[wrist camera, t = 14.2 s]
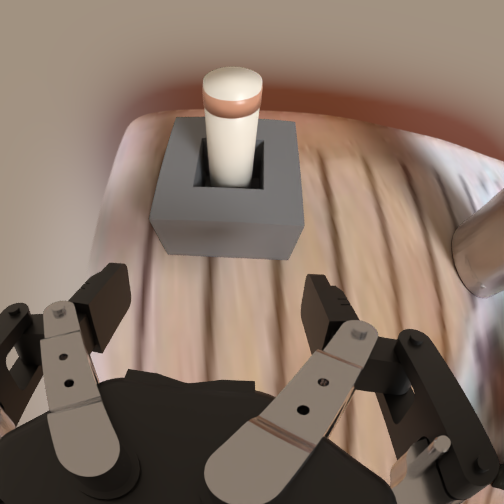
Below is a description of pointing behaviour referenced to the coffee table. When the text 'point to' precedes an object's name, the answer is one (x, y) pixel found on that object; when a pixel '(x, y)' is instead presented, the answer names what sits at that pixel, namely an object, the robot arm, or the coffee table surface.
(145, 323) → the coffee table surface
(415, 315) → the coffee table surface
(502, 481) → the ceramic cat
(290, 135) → the hole block
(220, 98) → the dowel
